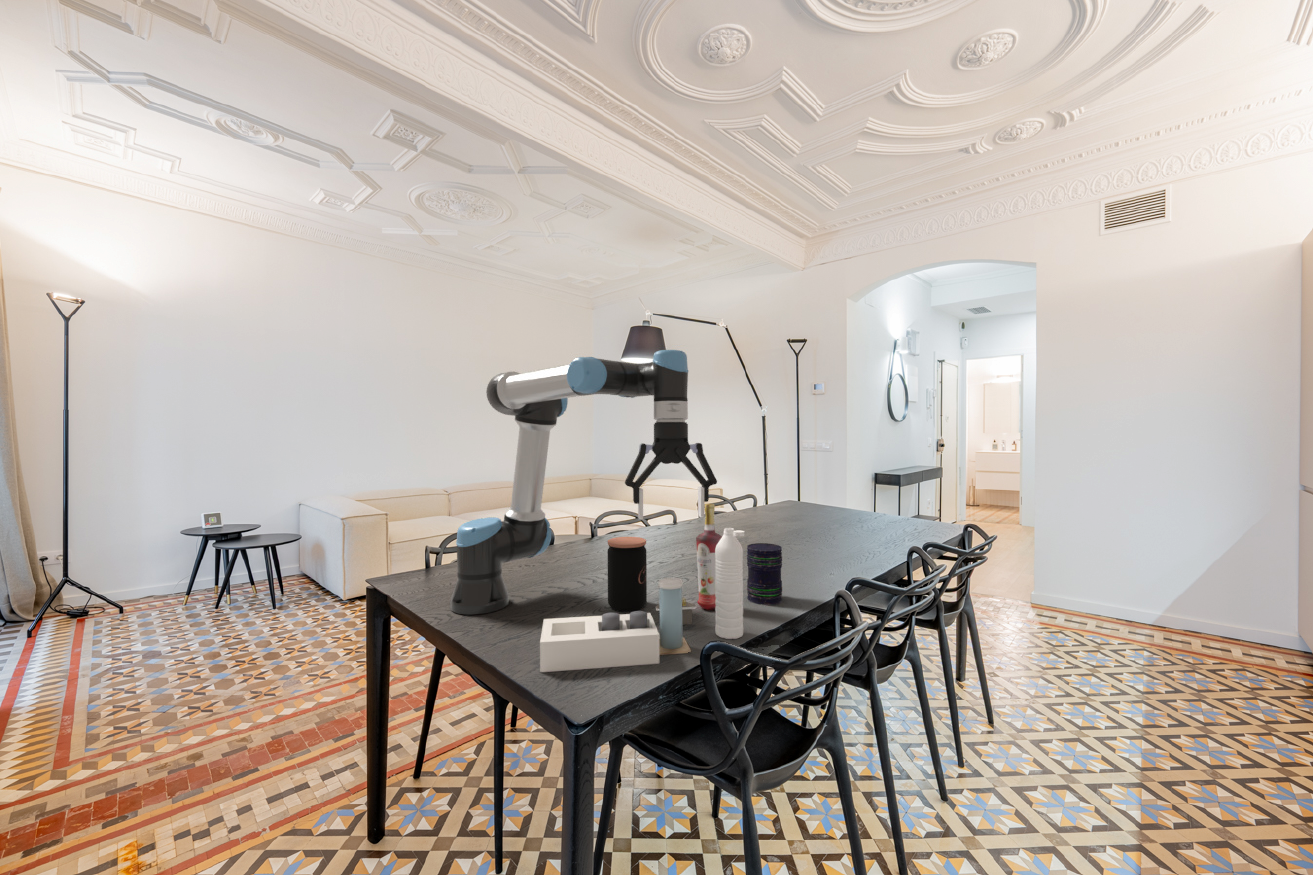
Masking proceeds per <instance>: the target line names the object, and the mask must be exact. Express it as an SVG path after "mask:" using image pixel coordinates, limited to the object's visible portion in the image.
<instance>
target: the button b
mask: <svg viewBox="0 0 1313 875" xmlns="http://www.w3.org/2000/svg"><path fill="white" fill-rule="evenodd" d="M647 613H648V612H647V611H643V610H637V611H630V613H629V614H630V629H642V628H647Z"/></svg>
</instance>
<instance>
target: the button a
mask: <svg viewBox="0 0 1313 875" xmlns="http://www.w3.org/2000/svg"><path fill="white" fill-rule="evenodd" d="M620 615H621V614H619V613H617V612H606V613H603V614H602V615H601V616H602V631H611V630H620Z"/></svg>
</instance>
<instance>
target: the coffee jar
mask: <svg viewBox="0 0 1313 875" xmlns="http://www.w3.org/2000/svg"><path fill="white" fill-rule="evenodd" d="M646 545H647V540H646V538H643V537H639V536H638V537H637V536H617V537H612V538H610V539H608V540H607V546H608V548H607V604H608V606H609V608H610V609H611V610H614V611H617V612H623V613H624V612H625V613H627V612H630V613H631V612H634V611H641V610H642V609H644V607H645V606H646V604H647V600H648V599H647V598H648V597H647V596H648V594H647V593H648V591H647V587H648V586H647V584H648V583H647V577H648V576H647V575H648V574H647V573H648V572H647V568H648V567H647V548H646Z"/></svg>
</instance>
